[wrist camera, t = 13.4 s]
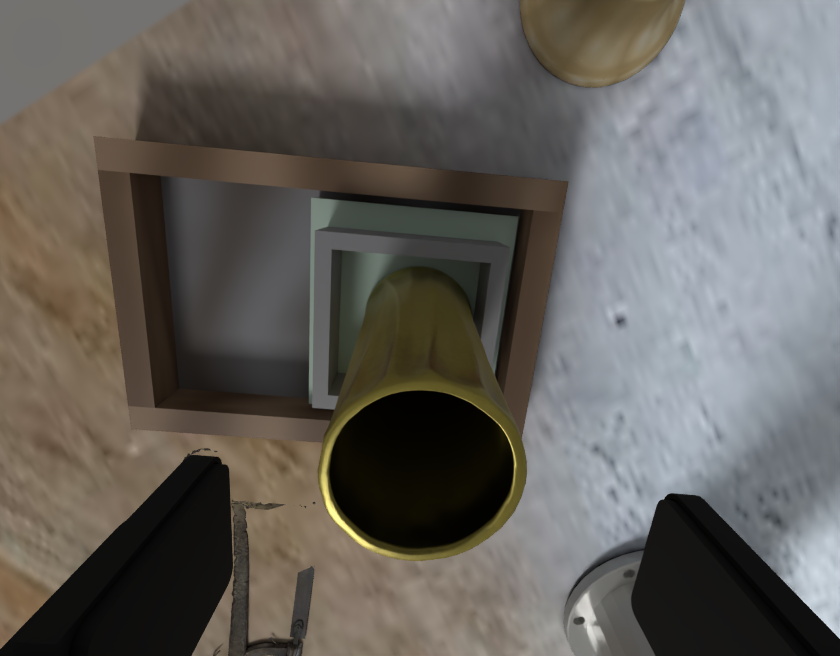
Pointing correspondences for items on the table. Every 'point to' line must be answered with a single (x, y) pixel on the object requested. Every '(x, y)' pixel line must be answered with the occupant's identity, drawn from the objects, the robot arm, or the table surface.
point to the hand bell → (598, 36)
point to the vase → (420, 427)
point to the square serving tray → (387, 253)
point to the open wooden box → (274, 276)
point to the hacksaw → (238, 652)
